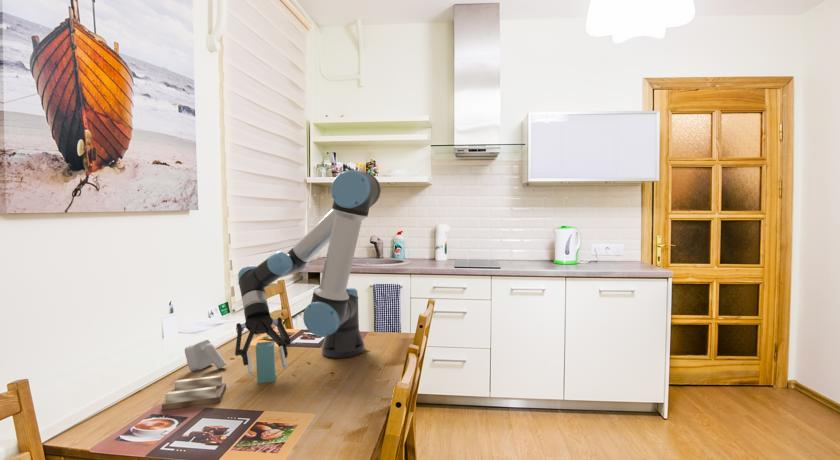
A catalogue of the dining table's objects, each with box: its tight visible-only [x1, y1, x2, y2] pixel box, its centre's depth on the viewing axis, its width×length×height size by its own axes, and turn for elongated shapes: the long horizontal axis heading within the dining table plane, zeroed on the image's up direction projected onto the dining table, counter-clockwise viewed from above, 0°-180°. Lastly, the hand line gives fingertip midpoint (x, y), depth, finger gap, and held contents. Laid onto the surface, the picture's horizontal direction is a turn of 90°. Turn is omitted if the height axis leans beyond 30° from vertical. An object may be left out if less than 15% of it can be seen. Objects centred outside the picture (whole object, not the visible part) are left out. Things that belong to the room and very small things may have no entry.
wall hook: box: [184, 339, 227, 372], centre depth 145 cm, size 8×10×10 cm
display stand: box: [161, 374, 227, 411], centre depth 121 cm, size 14×10×4 cm
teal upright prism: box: [255, 340, 277, 384], centre depth 134 cm, size 5×4×11 cm
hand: (268, 370), depth 131 cm, fingers open, 9 cm apart
